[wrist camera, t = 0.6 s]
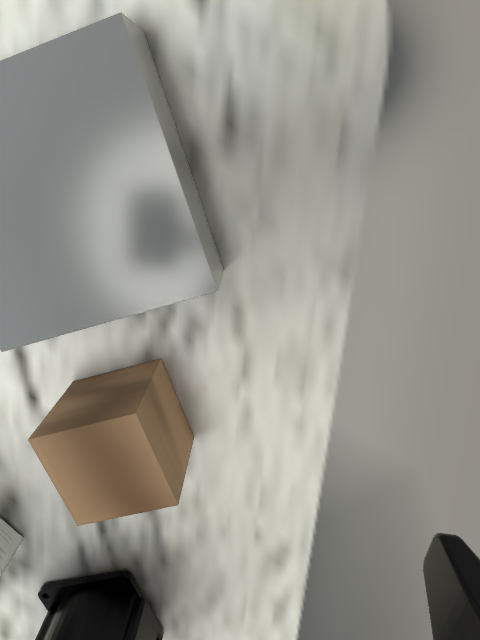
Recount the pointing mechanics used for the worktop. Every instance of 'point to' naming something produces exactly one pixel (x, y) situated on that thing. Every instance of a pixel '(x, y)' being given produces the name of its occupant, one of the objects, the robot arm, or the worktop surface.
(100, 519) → the walnut cube
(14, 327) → the slate slab
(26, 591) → the worktop surface
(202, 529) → the worktop surface
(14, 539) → the supplement box
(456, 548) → the robot arm
